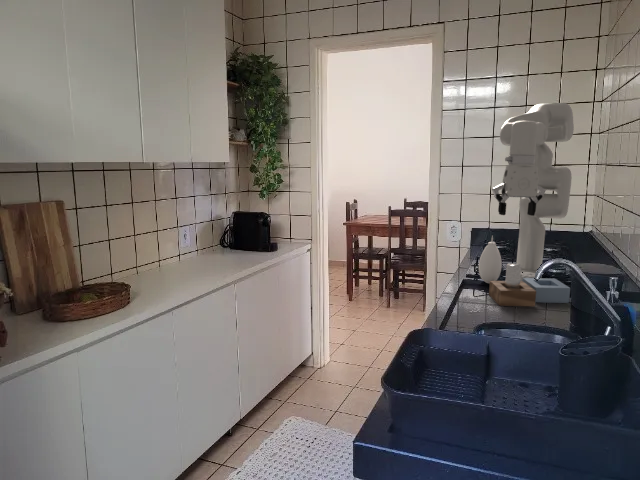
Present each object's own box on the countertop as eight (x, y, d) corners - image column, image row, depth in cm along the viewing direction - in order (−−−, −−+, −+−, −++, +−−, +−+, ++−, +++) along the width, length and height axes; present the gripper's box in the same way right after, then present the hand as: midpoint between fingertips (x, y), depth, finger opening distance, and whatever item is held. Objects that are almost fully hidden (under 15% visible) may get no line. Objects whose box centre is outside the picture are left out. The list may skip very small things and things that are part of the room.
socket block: (521, 291, 162) (522, 278, 161) (553, 292, 162) (554, 278, 161) (534, 302, 152) (535, 287, 151) (568, 302, 151) (570, 288, 150)
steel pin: (501, 298, 156) (504, 263, 153) (515, 298, 155) (518, 263, 153) (506, 302, 151) (509, 266, 149) (520, 302, 151) (523, 267, 149)
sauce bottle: (482, 278, 178) (485, 232, 175) (502, 282, 173) (507, 235, 170) (474, 283, 172) (477, 235, 169) (495, 287, 168) (499, 238, 164)
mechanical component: (517, 289, 166) (547, 290, 165) (518, 277, 166) (548, 278, 164) (511, 281, 176) (540, 282, 174) (512, 269, 175) (541, 271, 173)
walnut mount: (488, 294, 159) (489, 280, 158) (521, 295, 158) (522, 281, 157) (499, 305, 148) (500, 290, 147) (534, 306, 148) (536, 291, 147)
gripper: (500, 160, 143) (496, 216, 145) (554, 161, 144) (548, 216, 147) (490, 160, 150) (485, 213, 153) (541, 161, 151) (535, 214, 154)
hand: (516, 215), depth 150 cm, fingers open, 9 cm apart
